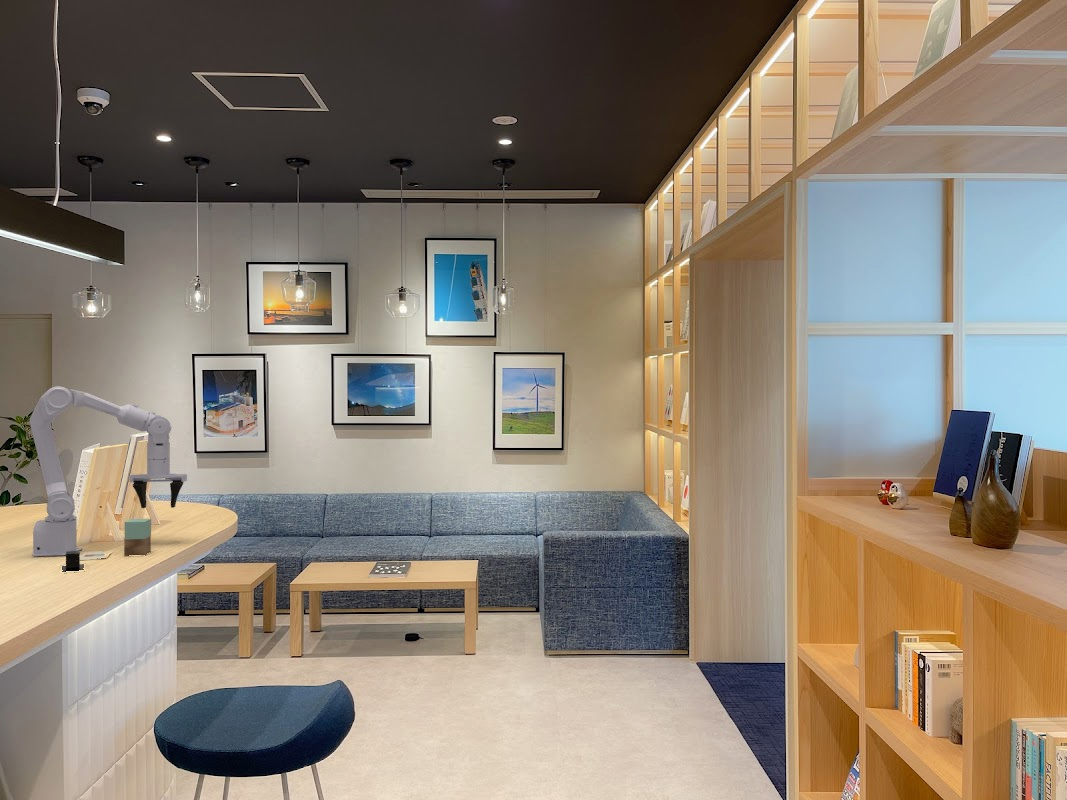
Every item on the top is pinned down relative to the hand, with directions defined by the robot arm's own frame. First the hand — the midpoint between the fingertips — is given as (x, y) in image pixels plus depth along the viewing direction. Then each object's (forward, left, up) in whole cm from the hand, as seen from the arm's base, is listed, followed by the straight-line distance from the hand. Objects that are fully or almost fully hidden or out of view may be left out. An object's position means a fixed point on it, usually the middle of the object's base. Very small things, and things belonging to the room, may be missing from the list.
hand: (158, 507), depth 219 cm
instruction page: (-12, -13, -10) cm, 21 cm away
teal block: (-2, -12, -6) cm, 14 cm away
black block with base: (-12, -27, -11) cm, 32 cm away
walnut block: (-2, -12, -10) cm, 16 cm away
